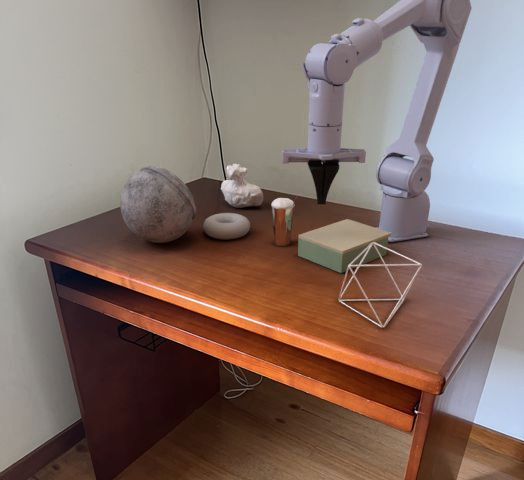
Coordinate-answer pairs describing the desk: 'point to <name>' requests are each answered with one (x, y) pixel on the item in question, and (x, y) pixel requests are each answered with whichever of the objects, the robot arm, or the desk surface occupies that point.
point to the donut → (226, 226)
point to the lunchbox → (339, 255)
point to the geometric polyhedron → (389, 274)
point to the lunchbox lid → (344, 236)
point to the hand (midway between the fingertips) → (321, 202)
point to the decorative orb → (157, 205)
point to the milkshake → (282, 220)
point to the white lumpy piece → (240, 188)
